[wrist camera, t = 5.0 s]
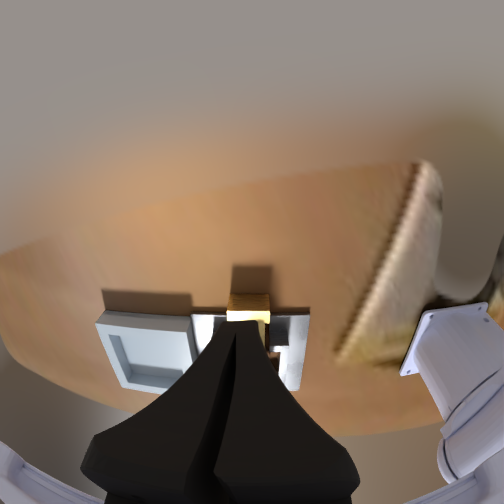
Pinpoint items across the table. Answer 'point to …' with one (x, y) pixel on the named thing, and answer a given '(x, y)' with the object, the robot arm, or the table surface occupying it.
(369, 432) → the table surface
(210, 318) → the socket
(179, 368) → the tray
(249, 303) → the tan stepped block
